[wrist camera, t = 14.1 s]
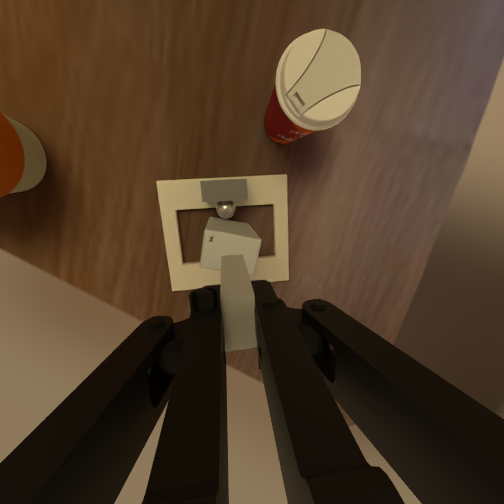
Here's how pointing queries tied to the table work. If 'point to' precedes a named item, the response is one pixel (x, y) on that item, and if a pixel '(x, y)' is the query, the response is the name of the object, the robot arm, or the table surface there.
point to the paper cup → (313, 86)
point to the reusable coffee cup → (19, 157)
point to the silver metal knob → (225, 209)
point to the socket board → (207, 196)
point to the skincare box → (229, 243)
